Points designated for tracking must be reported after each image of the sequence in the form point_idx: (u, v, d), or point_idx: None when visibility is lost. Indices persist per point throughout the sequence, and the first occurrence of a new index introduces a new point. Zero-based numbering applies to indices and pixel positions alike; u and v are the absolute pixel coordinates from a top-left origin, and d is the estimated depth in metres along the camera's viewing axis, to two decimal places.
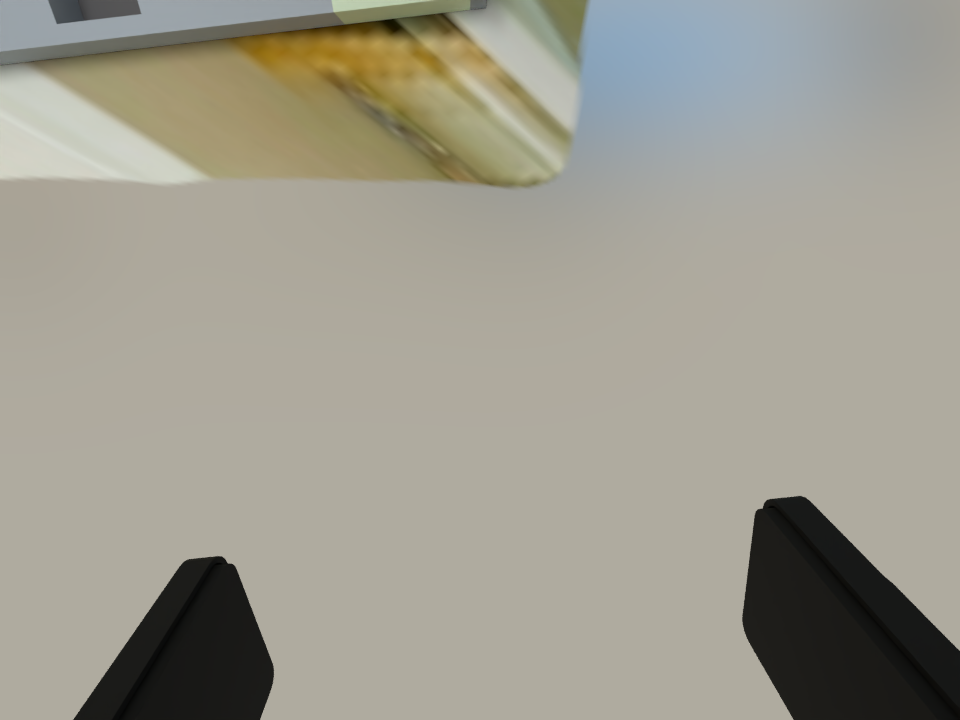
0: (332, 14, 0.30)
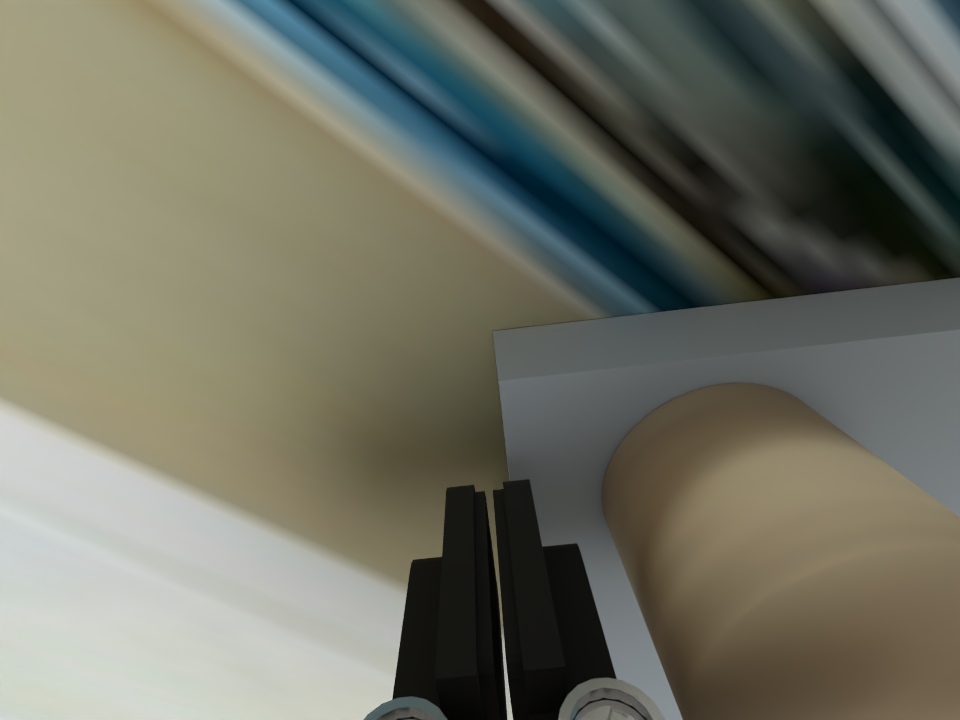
0: None
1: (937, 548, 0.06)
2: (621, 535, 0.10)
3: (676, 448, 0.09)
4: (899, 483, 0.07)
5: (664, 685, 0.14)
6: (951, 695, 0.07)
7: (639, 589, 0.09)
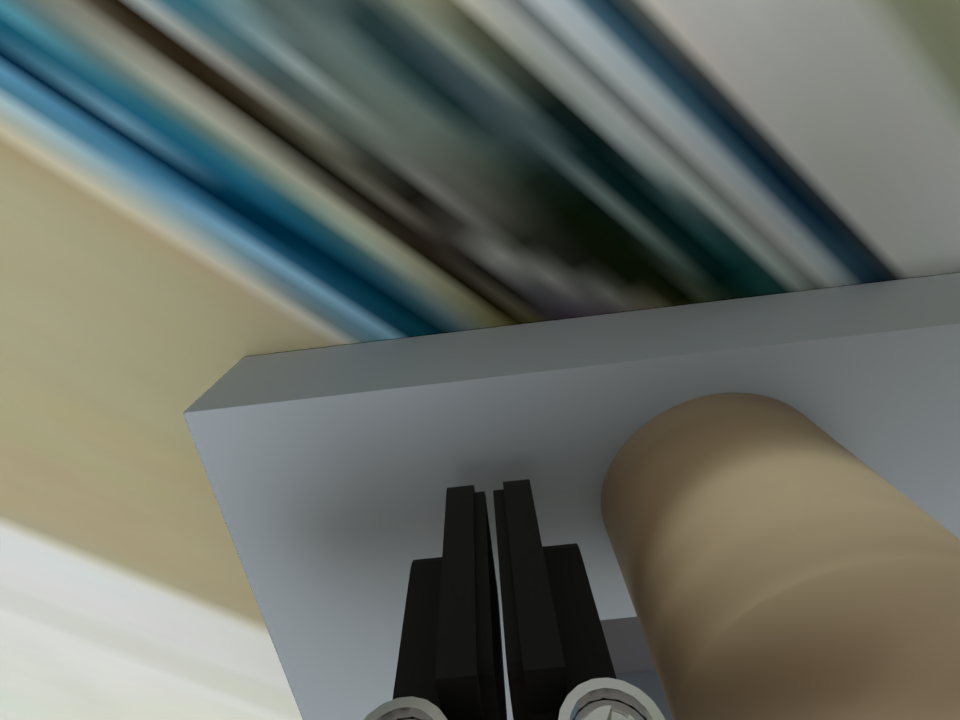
0: None
1: (919, 561, 0.06)
2: (618, 541, 0.10)
3: (672, 457, 0.09)
4: (887, 495, 0.07)
5: None
6: (935, 701, 0.07)
7: (635, 594, 0.09)
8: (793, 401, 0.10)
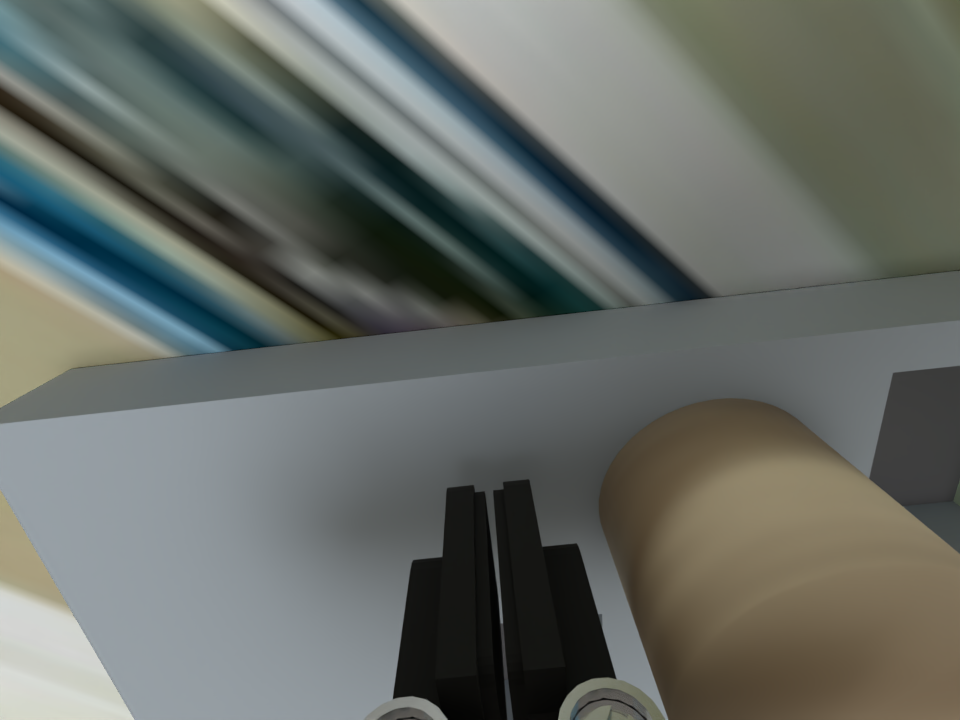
0: None
1: (906, 567, 0.06)
2: (615, 546, 0.10)
3: (667, 463, 0.09)
4: (877, 501, 0.08)
5: (260, 711, 0.14)
6: (925, 704, 0.07)
7: (631, 598, 0.09)
8: (568, 420, 0.11)
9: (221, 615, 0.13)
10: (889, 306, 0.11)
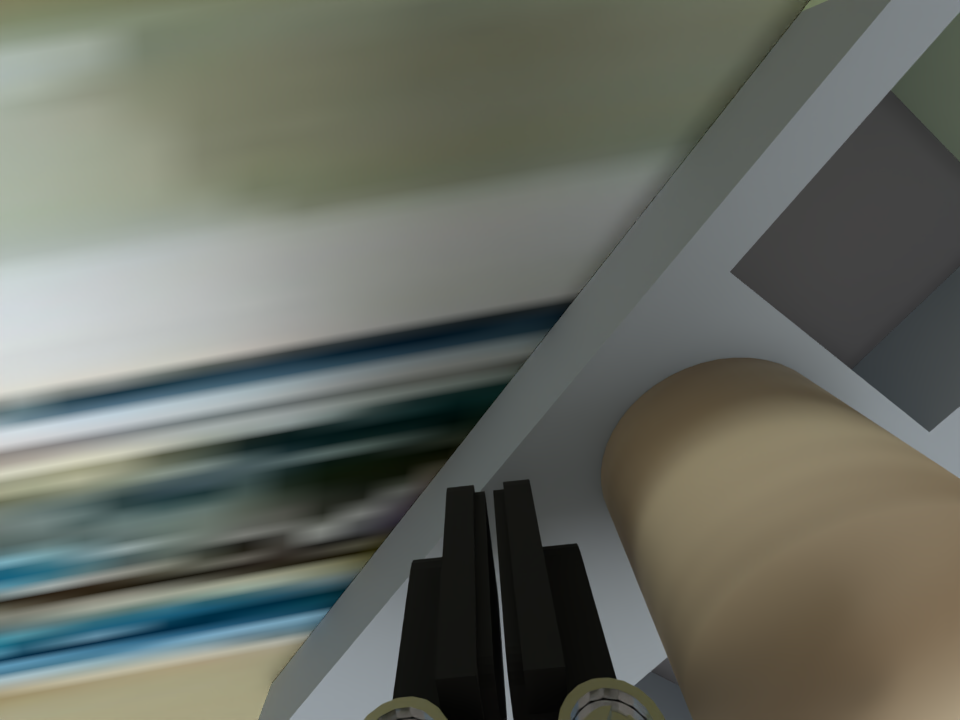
0: None
1: (774, 562, 0.06)
2: None
3: (619, 506, 0.10)
4: (760, 466, 0.07)
5: None
6: None
7: None
8: None
9: None
10: (686, 206, 0.10)
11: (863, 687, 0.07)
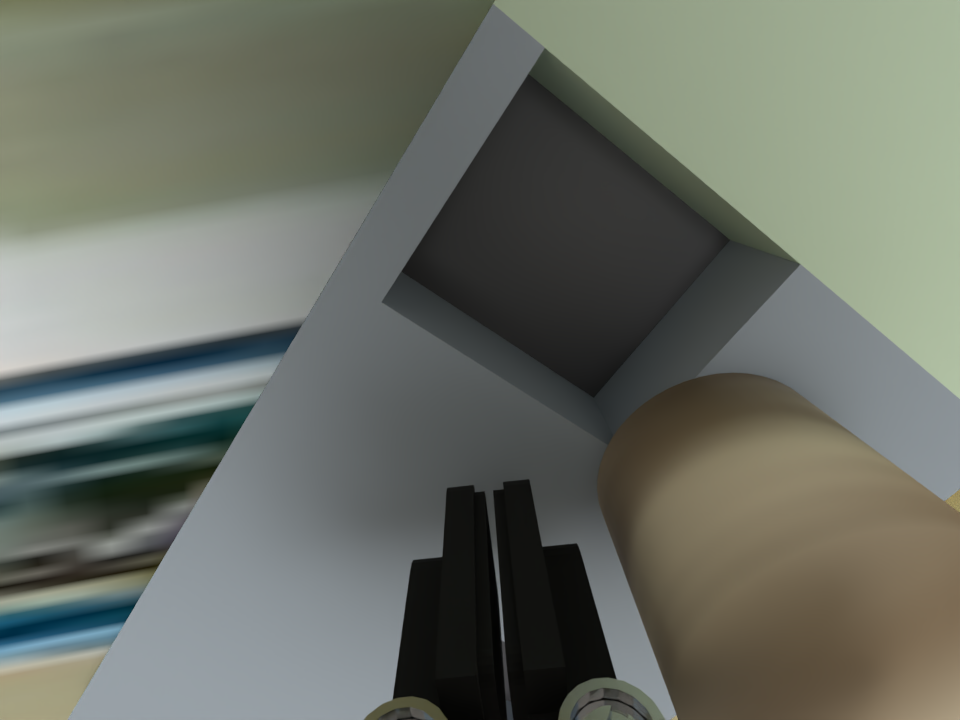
0: None
1: (765, 574, 0.06)
2: None
3: (615, 513, 0.10)
4: (755, 481, 0.07)
5: None
6: (943, 632, 0.07)
7: None
8: (245, 540, 0.12)
9: None
10: None
11: (842, 696, 0.07)
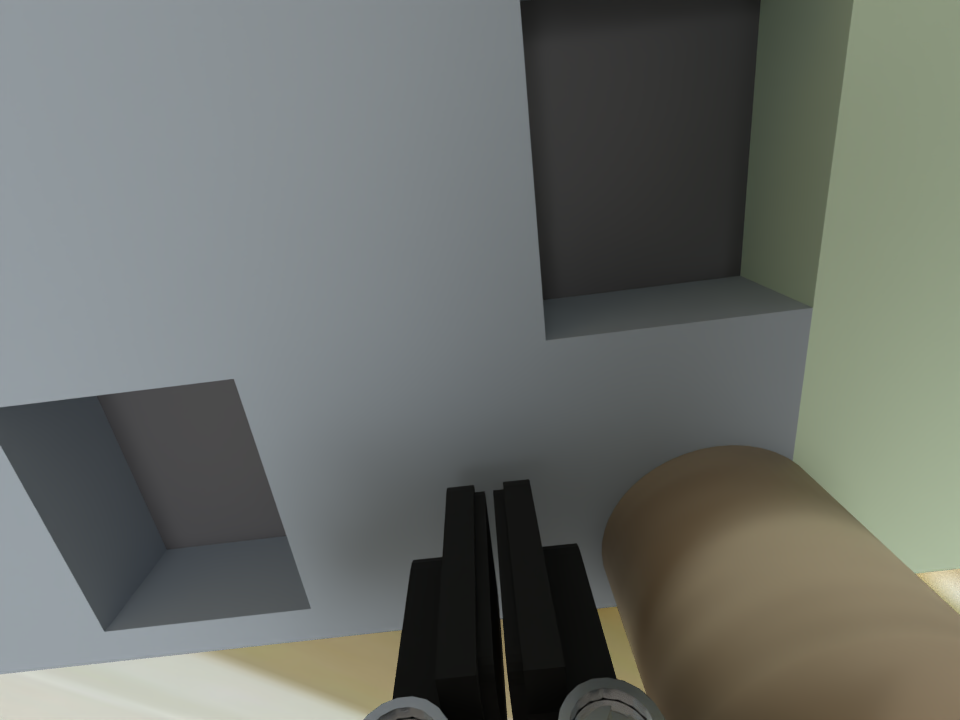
0: None
1: (937, 640, 0.06)
2: (622, 581, 0.10)
3: (687, 505, 0.09)
4: (899, 568, 0.08)
5: None
6: None
7: (638, 638, 0.09)
8: (80, 40, 0.08)
9: None
10: None
11: None
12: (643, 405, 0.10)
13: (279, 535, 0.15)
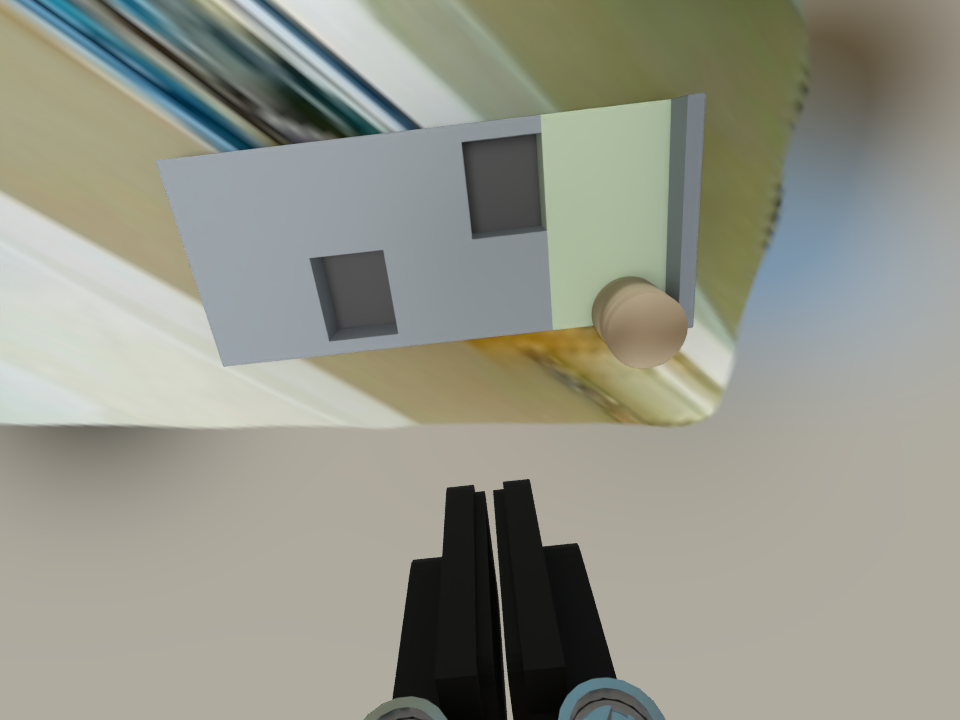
0: None
1: (658, 294, 0.31)
2: (596, 313, 0.34)
3: (613, 288, 0.34)
4: (660, 290, 0.32)
5: (254, 301, 0.35)
6: (665, 336, 0.32)
7: (600, 321, 0.33)
8: (357, 160, 0.32)
9: (239, 248, 0.34)
10: None
11: (640, 336, 0.32)
12: (502, 260, 0.34)
13: (380, 324, 0.39)
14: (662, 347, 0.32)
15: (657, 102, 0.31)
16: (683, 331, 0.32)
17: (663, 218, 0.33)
